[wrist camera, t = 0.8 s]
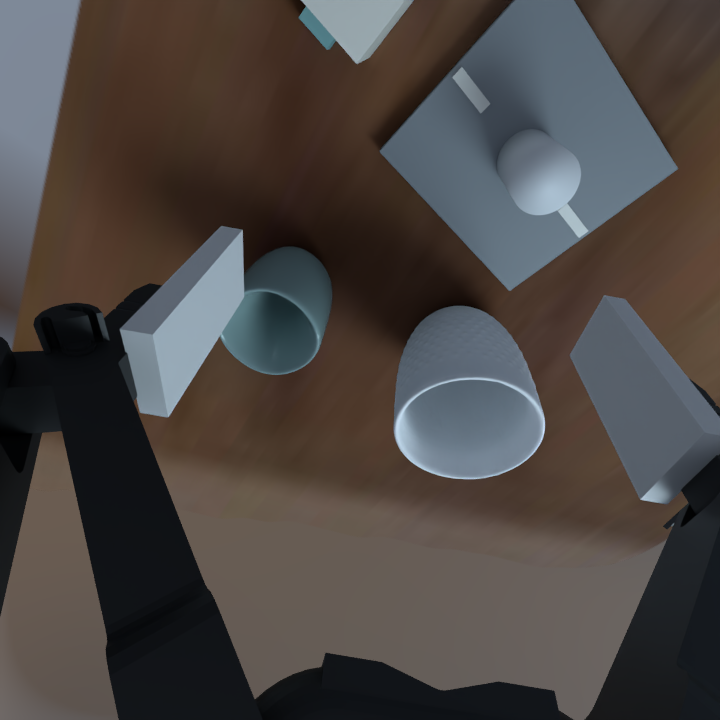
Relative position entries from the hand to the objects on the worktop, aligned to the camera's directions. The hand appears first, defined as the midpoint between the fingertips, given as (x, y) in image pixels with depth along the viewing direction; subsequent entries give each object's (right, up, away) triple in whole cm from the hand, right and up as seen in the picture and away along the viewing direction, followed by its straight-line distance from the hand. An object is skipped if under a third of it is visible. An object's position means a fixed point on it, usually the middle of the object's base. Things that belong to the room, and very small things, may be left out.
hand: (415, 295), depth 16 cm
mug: (+8, -1, +27) cm, 28 cm away
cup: (-8, +6, +24) cm, 26 cm away
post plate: (+10, +13, +16) cm, 23 cm away
